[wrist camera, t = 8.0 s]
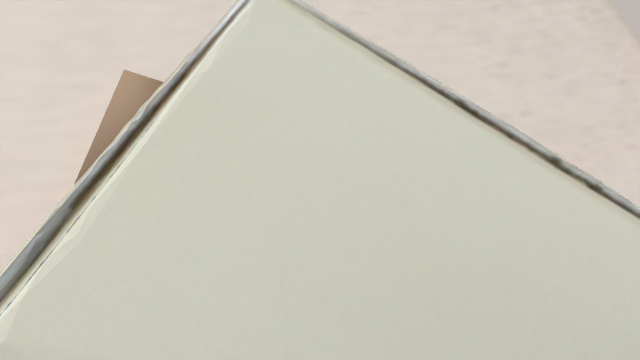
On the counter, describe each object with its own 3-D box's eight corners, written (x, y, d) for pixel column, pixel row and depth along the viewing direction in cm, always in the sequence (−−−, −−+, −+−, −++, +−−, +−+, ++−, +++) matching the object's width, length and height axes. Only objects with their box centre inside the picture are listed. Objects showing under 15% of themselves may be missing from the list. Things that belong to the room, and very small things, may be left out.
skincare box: (383, 292, 16) (788, 288, 5) (325, 407, 15) (697, 825, 3) (233, 199, 16) (258, -59, 4) (160, 308, 14) (-101, 369, 3)
